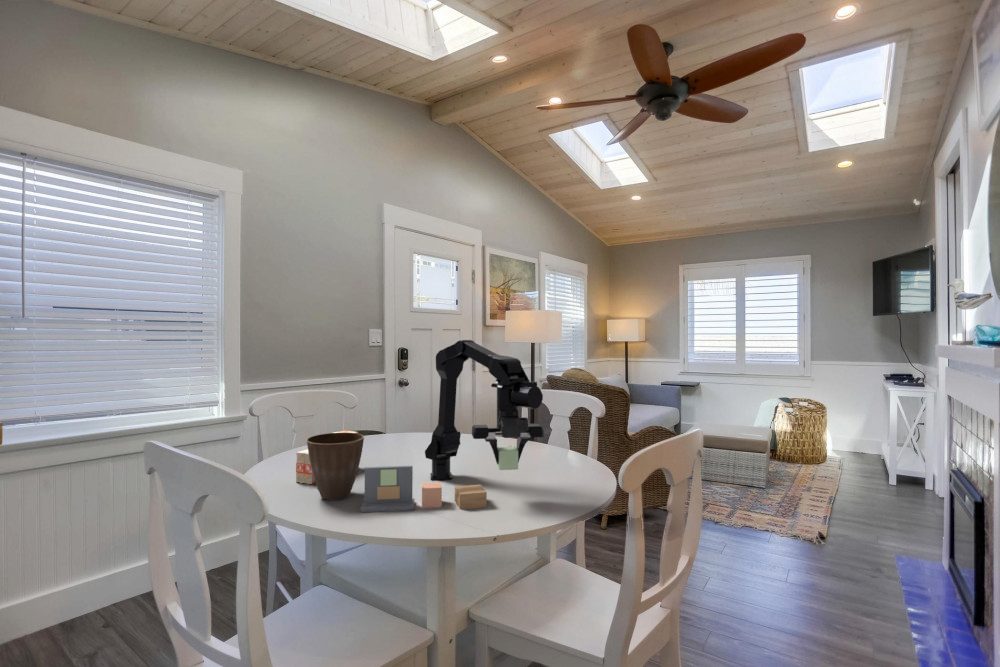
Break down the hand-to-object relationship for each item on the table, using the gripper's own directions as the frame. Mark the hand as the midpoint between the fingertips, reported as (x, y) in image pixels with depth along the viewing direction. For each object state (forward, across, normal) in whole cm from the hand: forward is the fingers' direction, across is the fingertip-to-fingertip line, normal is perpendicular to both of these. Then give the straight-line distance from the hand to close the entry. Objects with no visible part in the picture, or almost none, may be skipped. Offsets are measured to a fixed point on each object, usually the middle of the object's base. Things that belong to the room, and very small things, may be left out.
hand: (507, 463), depth 136 cm
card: (+10, -31, -2) cm, 33 cm away
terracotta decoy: (+10, -20, -1) cm, 22 cm away
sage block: (+1, 0, 0) cm, 1 cm away
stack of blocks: (+10, -52, +32) cm, 62 cm away
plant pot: (+10, -46, +9) cm, 48 cm away
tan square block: (+10, -10, -2) cm, 14 cm away
